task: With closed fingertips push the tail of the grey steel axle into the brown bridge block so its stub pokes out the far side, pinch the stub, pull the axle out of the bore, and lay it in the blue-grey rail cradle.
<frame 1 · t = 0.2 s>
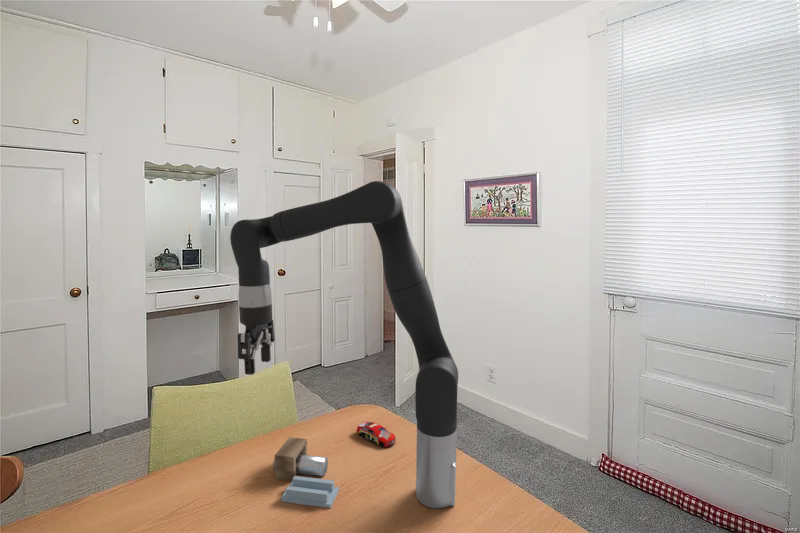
hand: (258, 367, 101), 28 cm above the table, fingers open, 8 cm apart
race car: (376, 439, 122), on the table
axle: (301, 471, 106), on the table
brown bridge block: (292, 469, 107), on the table
cradle: (310, 495, 97), on the table
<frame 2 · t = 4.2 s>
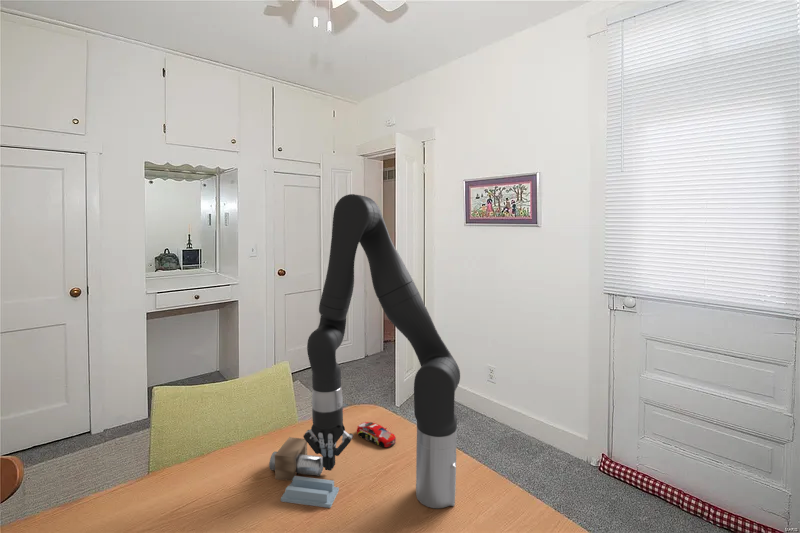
hand: (329, 468, 105), 2 cm above the table, fingers closed
axle: (297, 471, 106), on the table, touching gripper
everything else where it was.
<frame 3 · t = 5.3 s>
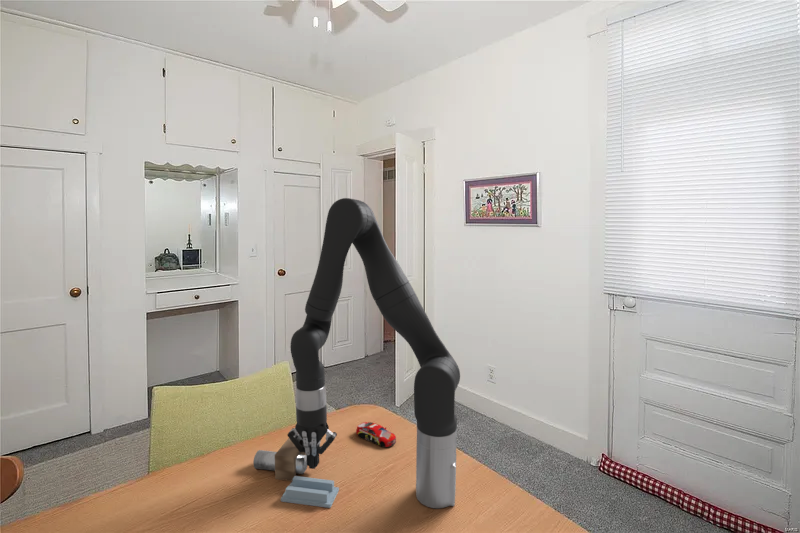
hand: (313, 466, 105), 2 cm above the table, fingers closed
axle: (281, 469, 107), on the table
everything else where it was.
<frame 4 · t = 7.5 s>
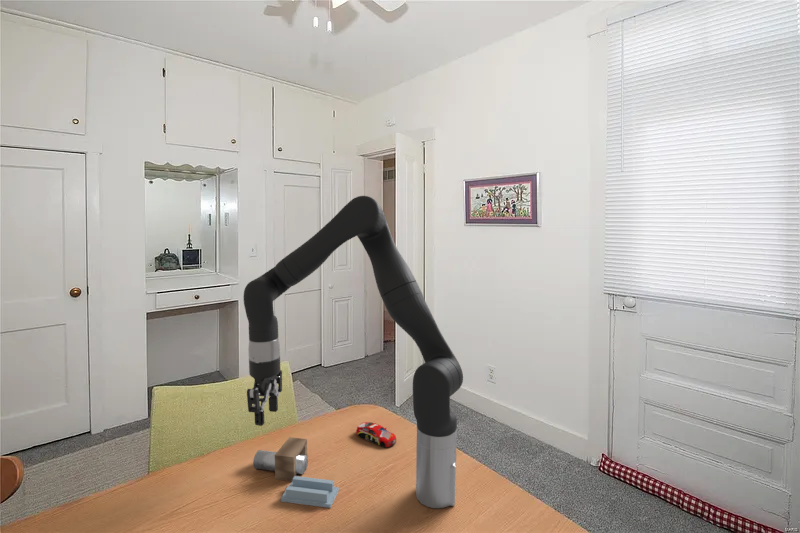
hand: (266, 417, 106), 14 cm above the table, fingers open, 6 cm apart
nothing on the table moved.
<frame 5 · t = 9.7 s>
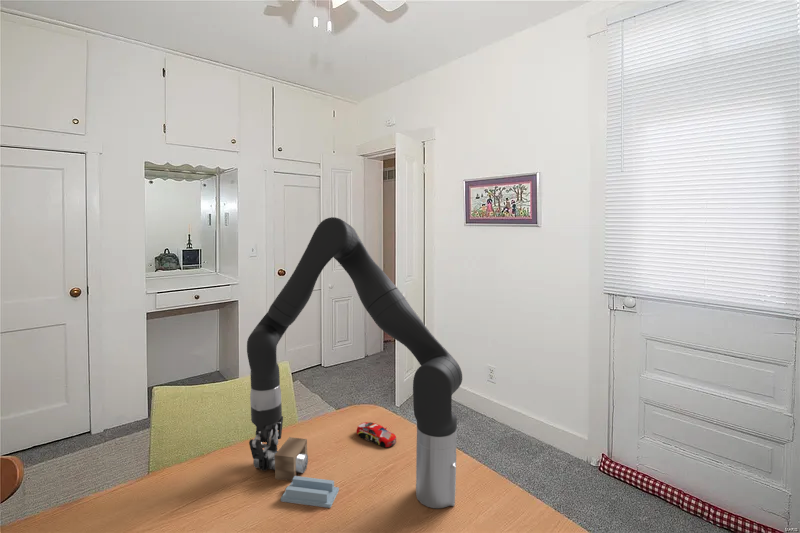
hand: (268, 463, 108), 1 cm above the table, fingers closed on axle, 4 cm apart
axle: (281, 468, 107), on the table, touching gripper
everything else where it was.
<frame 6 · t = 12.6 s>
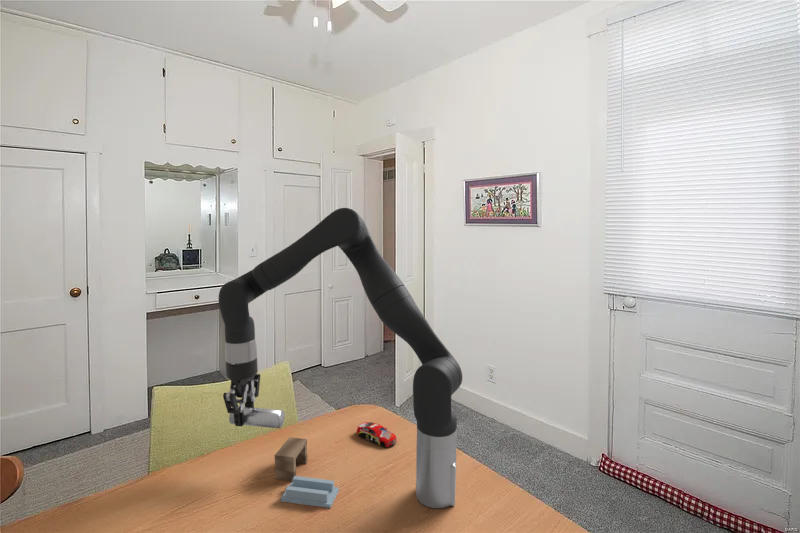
hand: (244, 420, 106), 13 cm above the table, fingers closed on axle, 4 cm apart
axle: (257, 425, 106), point 12 cm above the table, touching gripper
everything else where it was.
when the fingers open (4 cm above the table, at t = 15.7 s): axle stays where it is, resting on cradle.
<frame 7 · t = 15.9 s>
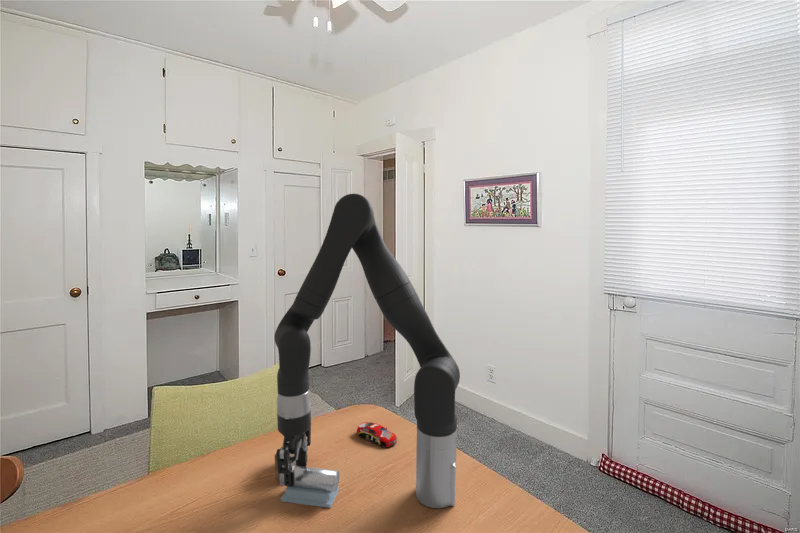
hand: (295, 475, 97), 5 cm above the table, fingers open, 6 cm apart
axle: (310, 486, 97), point 2 cm above the table, touching cradle
everything else where it was.
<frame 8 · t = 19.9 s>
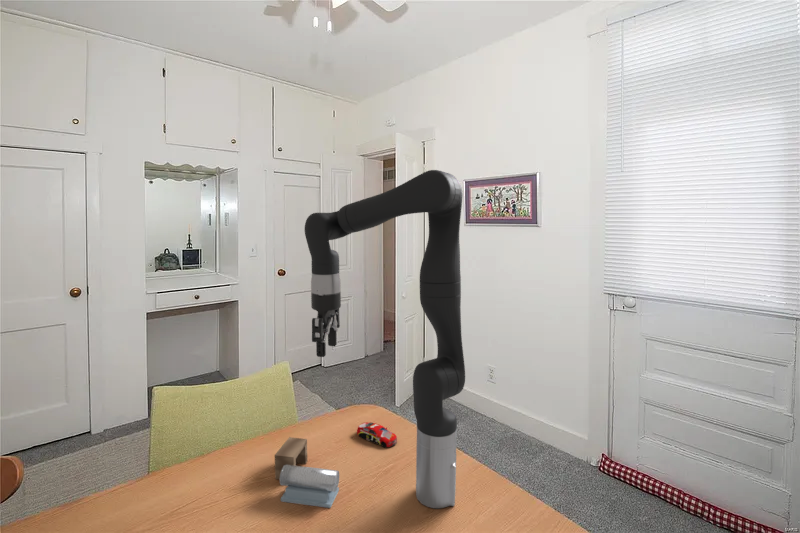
hand: (326, 350, 108), 30 cm above the table, fingers open, 8 cm apart
nothing on the table moved.
at the end: axle 0.2 cm off-centre on the cradle, point 2.4 cm above the cradle's base; axle touching cradle; the gripper is holding nothing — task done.
